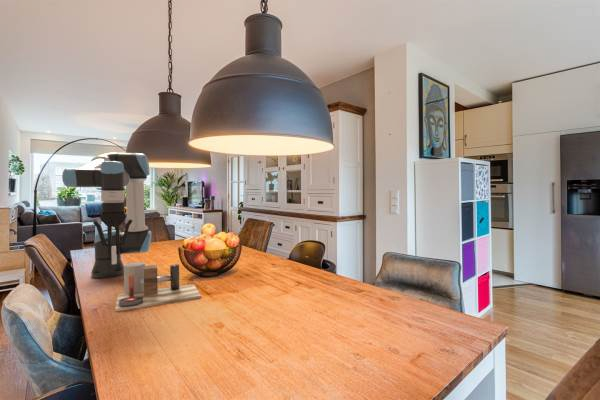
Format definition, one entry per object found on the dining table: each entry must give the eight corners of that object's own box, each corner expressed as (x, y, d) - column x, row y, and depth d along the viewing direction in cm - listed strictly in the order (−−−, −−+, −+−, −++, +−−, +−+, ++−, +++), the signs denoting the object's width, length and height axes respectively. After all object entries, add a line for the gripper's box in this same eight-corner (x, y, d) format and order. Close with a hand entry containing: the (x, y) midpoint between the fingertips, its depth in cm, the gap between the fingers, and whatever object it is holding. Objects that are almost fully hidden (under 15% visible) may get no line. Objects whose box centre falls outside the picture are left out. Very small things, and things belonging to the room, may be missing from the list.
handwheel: (119, 299, 119) (119, 276, 119) (142, 296, 123) (142, 273, 122) (118, 308, 110) (117, 282, 110) (143, 304, 114) (142, 279, 114)
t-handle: (140, 292, 128) (139, 268, 128) (179, 286, 135) (178, 264, 135) (140, 294, 125) (139, 270, 124) (179, 289, 132) (179, 265, 132)
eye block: (118, 296, 126) (117, 268, 126) (194, 286, 140) (193, 260, 140) (115, 311, 110) (114, 278, 110) (200, 298, 124) (200, 268, 124)
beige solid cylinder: (120, 292, 132) (119, 265, 131) (137, 287, 139) (137, 261, 139) (132, 295, 128) (131, 267, 128) (149, 290, 135) (148, 263, 135)
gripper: (91, 202, 110) (92, 267, 110) (132, 201, 116) (133, 263, 116) (93, 202, 116) (95, 263, 117) (132, 201, 122) (133, 259, 123)
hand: (114, 263), depth 116 cm, fingers closed
